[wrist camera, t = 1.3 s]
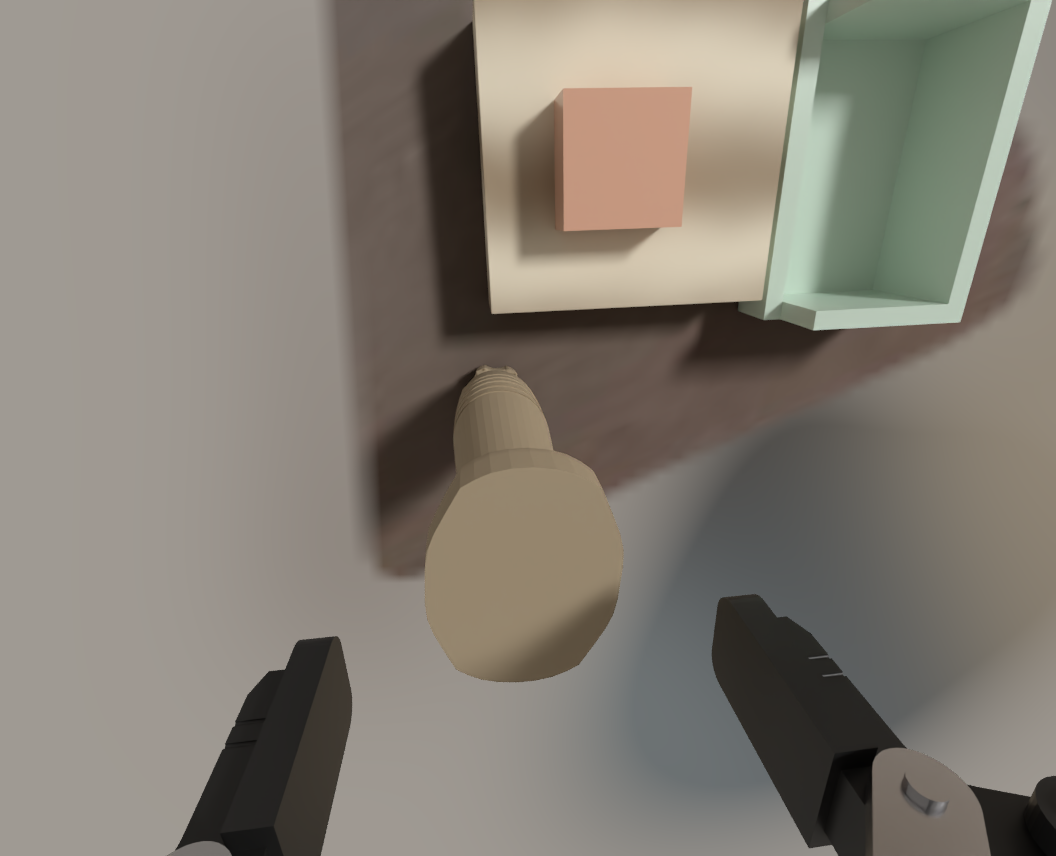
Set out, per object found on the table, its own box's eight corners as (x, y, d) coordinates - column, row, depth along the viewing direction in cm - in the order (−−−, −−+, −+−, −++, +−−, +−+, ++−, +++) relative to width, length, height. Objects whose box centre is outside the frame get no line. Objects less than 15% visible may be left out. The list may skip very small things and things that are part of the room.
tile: (553, 99, 19) (563, 88, 18) (671, 98, 20) (692, 86, 18) (555, 229, 21) (563, 231, 19) (663, 225, 22) (681, 226, 20)
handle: (445, 449, 28) (425, 685, 14) (446, 327, 25) (424, 466, 11) (536, 450, 28) (604, 678, 14) (545, 331, 26) (638, 468, 12)
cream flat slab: (472, 20, 21) (473, -10, 18) (761, 20, 22) (804, -8, 19) (488, 302, 25) (491, 313, 22) (730, 290, 26) (762, 300, 23)
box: (773, 20, 22) (855, -31, 17) (938, 20, 23) (1060, -29, 18) (737, 310, 26) (794, 331, 22) (876, 303, 27) (960, 322, 23)
